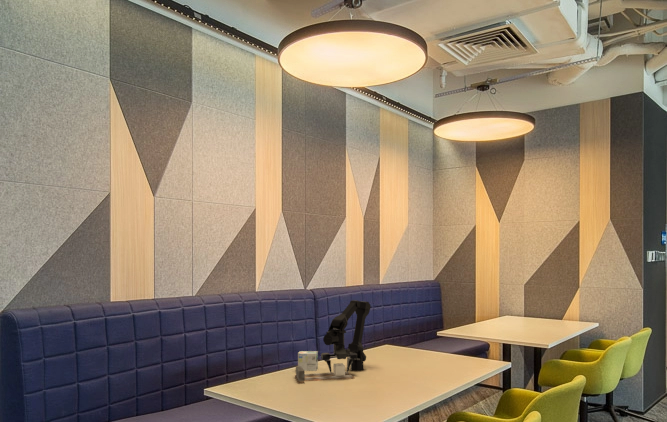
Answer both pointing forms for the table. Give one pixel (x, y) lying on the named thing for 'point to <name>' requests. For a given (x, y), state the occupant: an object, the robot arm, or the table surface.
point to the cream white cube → (339, 369)
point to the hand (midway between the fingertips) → (339, 372)
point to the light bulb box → (308, 360)
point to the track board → (318, 376)
